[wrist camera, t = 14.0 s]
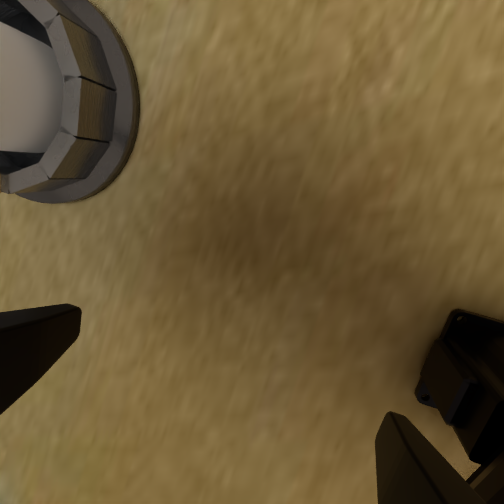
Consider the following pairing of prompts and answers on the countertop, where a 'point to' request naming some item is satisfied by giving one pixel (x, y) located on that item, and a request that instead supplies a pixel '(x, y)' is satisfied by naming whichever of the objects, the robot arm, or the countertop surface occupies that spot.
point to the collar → (76, 103)
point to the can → (28, 92)
